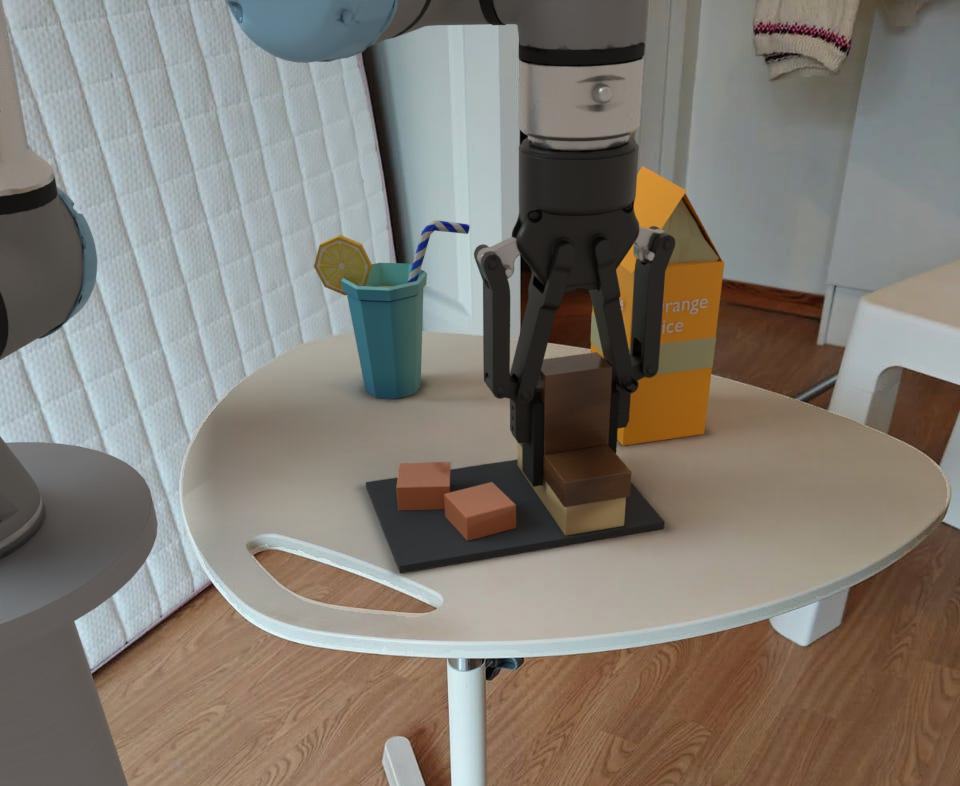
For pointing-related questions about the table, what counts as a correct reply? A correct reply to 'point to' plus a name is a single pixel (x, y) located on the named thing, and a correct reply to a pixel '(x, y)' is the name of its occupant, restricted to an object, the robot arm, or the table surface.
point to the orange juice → (673, 318)
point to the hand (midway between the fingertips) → (568, 471)
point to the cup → (382, 309)
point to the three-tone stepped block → (579, 446)
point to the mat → (439, 543)
